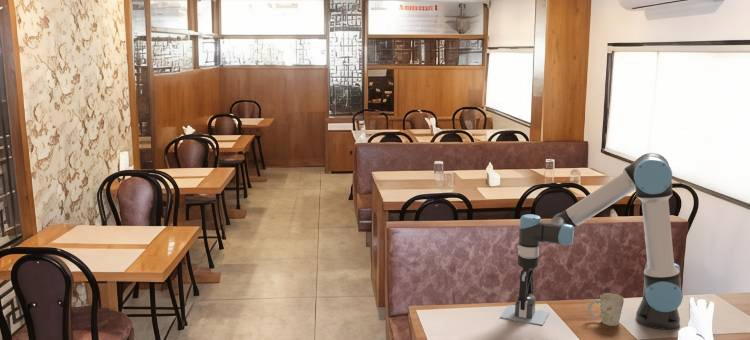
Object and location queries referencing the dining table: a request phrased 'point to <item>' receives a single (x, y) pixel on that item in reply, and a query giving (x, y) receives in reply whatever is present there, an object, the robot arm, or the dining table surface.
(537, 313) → the shaft board
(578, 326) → the dining table surface
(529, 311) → the knob
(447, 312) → the dining table surface
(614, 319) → the mug
